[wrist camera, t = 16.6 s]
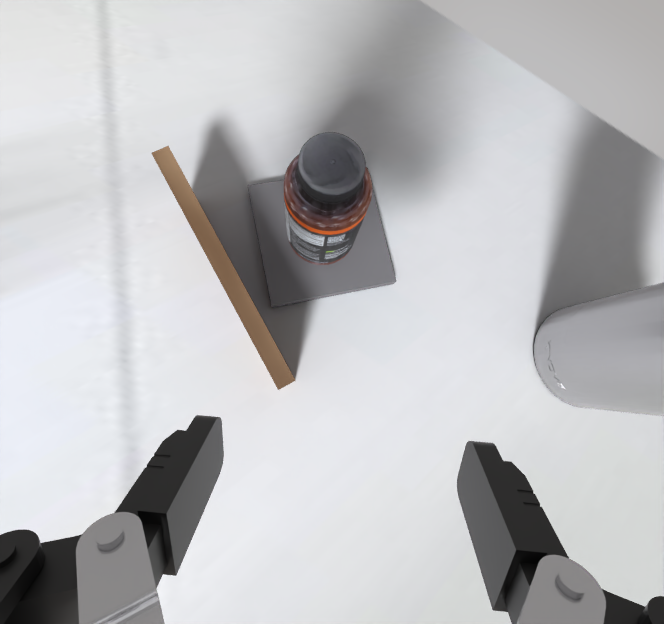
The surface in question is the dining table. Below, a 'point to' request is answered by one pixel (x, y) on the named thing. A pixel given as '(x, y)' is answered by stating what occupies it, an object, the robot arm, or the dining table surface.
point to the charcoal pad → (306, 278)
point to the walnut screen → (224, 268)
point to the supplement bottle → (326, 198)
